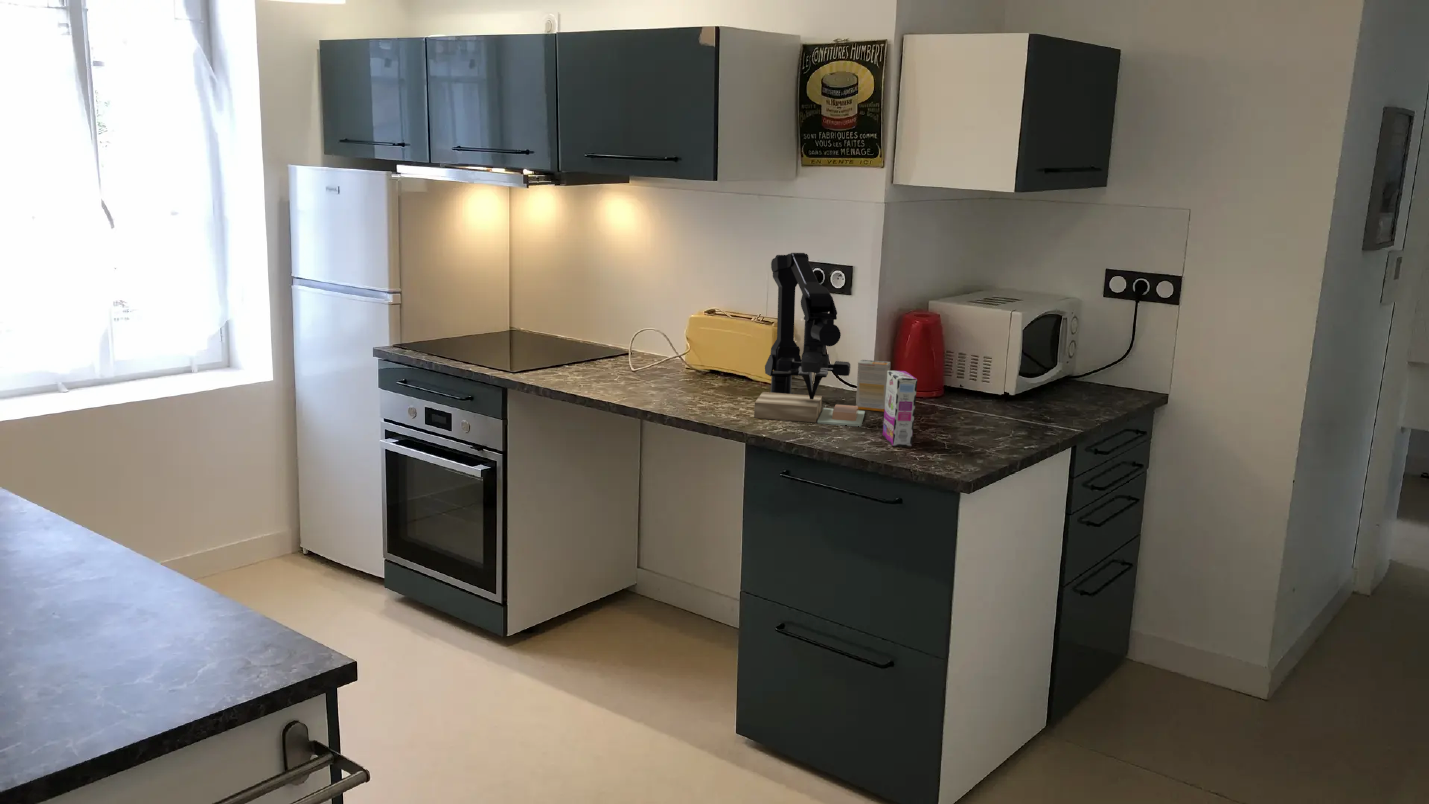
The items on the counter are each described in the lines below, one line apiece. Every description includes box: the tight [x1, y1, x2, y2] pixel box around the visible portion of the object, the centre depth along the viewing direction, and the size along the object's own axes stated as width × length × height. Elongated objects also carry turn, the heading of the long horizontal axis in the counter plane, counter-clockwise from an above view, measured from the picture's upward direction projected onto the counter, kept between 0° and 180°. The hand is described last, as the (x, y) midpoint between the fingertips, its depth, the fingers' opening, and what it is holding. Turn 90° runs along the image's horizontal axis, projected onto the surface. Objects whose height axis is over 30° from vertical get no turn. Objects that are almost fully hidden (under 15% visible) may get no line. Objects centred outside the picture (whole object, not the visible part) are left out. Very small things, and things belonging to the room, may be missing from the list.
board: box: [753, 391, 823, 423], centre depth 292 cm, size 14×16×4 cm
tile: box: [832, 404, 859, 421], centre depth 289 cm, size 9×6×2 cm, turn 169°
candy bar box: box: [882, 370, 918, 447], centre depth 266 cm, size 11×5×16 cm, turn 5°
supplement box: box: [855, 359, 891, 413], centre depth 300 cm, size 8×5×13 cm, turn 71°
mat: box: [817, 407, 866, 428], centre depth 290 cm, size 16×11×1 cm
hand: (811, 399), depth 290 cm, fingers closed
